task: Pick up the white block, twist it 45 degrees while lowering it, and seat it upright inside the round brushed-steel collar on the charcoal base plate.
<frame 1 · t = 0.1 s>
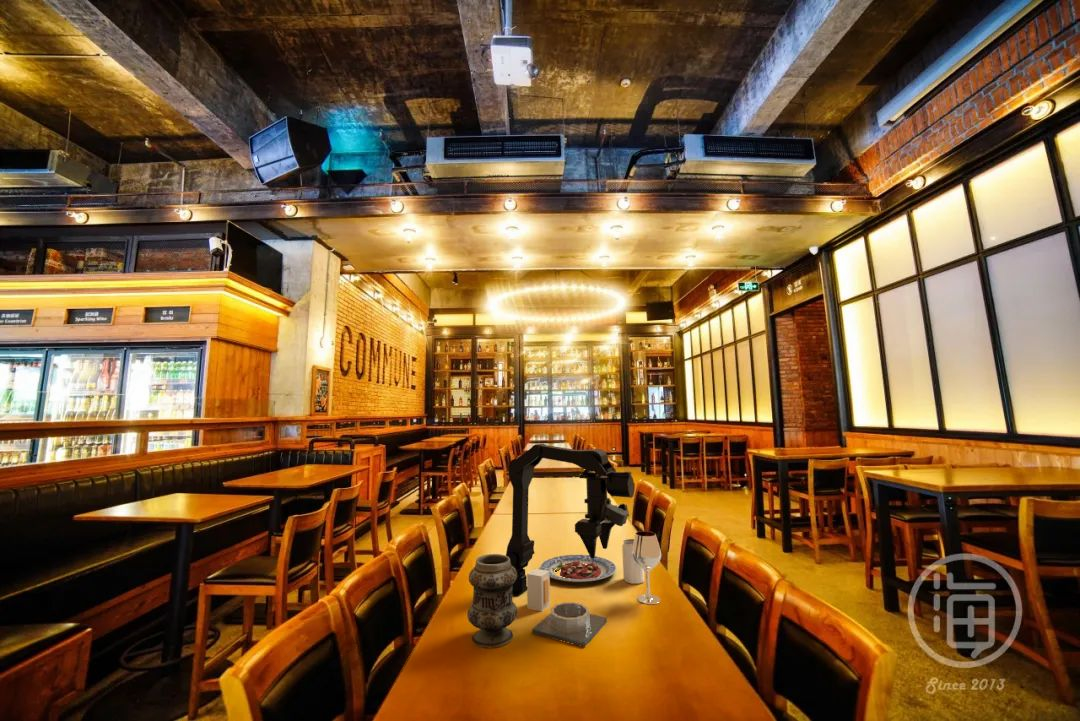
hand: (599, 553, 118), 15 cm above the table, tool pointing down, fingers open, 9 cm apart
white block: (538, 606, 119), on the table
can: (634, 581, 136), on the table
wineglass: (648, 600, 122), on the table
apothecary jar: (492, 638, 102), on the table
duct collar: (570, 627, 107), on the table
ceramic plate: (578, 573, 145), on the table
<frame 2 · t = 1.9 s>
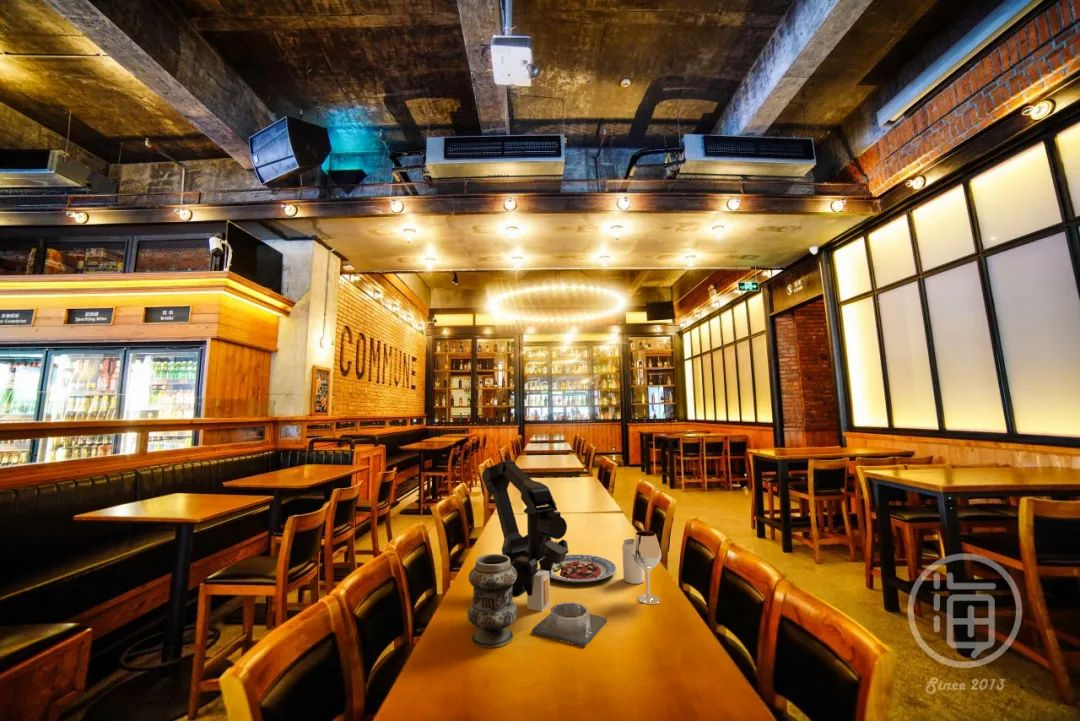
hand: (538, 589, 120), 4 cm above the table, tool pointing down, fingers open, 9 cm apart
nothing on the table moved.
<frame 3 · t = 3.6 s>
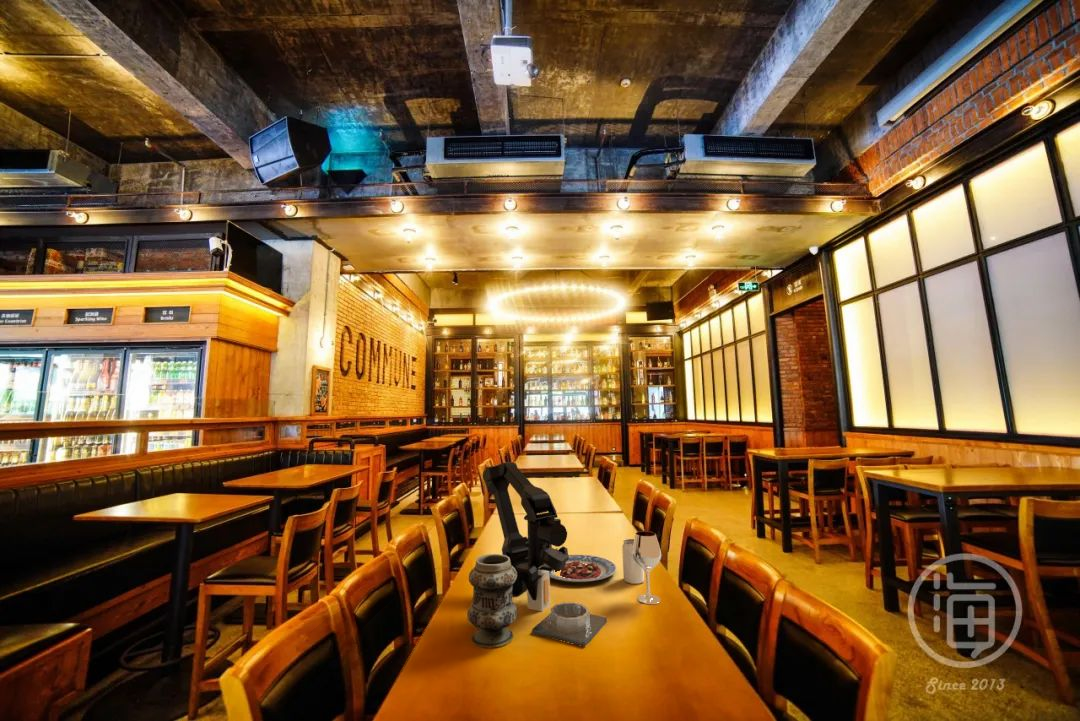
hand: (538, 596, 119), 3 cm above the table, tool pointing down, fingers closed on white block, 5 cm apart
white block: (538, 606, 119), on the table, touching gripper
everything else where it was.
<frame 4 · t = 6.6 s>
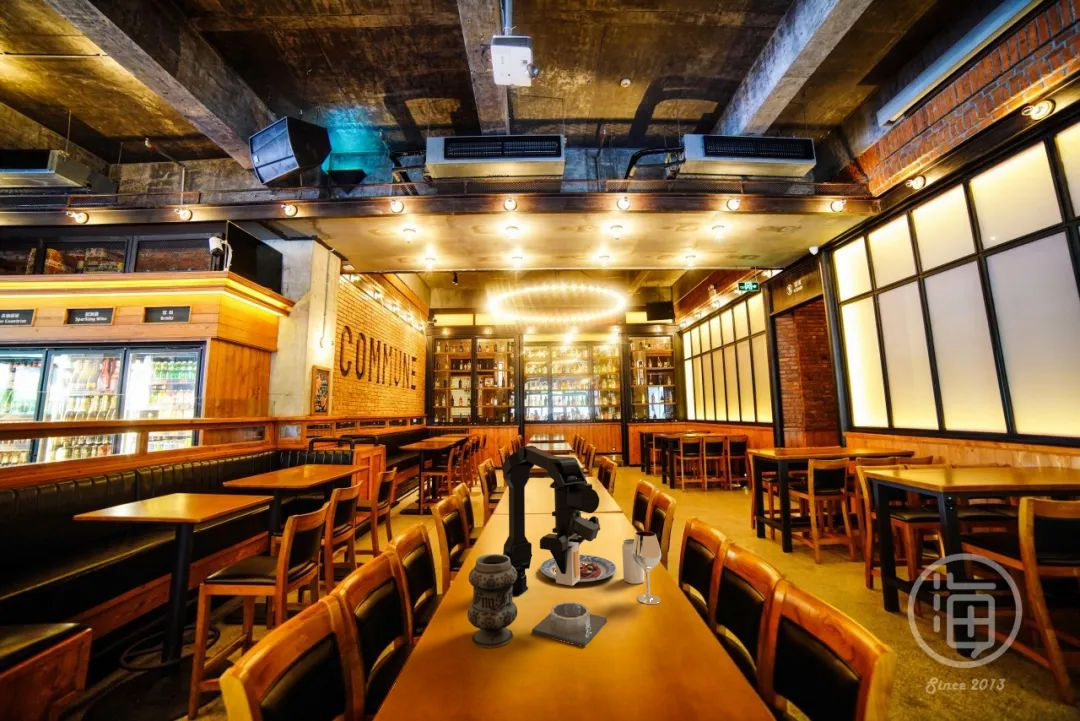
hand: (567, 570, 109), 13 cm above the table, tool pointing down, fingers closed on white block, 5 cm apart
white block: (568, 581, 109), point 11 cm above the table, touching gripper
everything else where it was.
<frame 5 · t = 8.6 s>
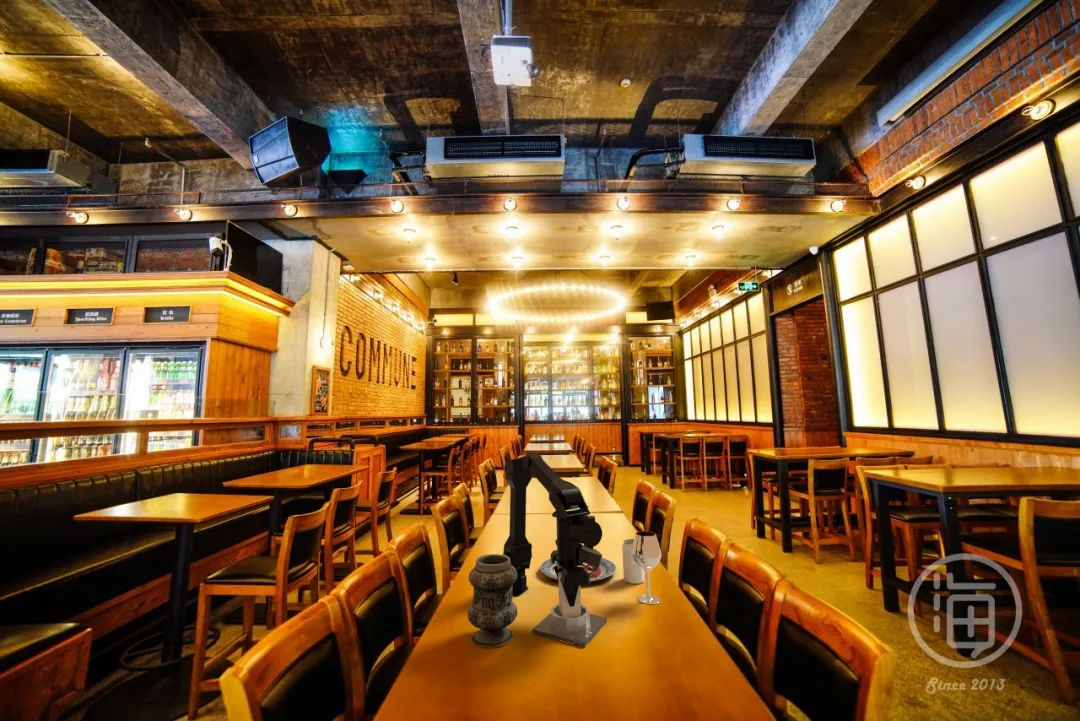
hand: (569, 602, 108), 6 cm above the table, tool pointing down, fingers closed on white block, 5 cm apart
white block: (569, 612, 107), point 3 cm above the table, touching gripper
everything else where it was.
when the fingers open (5 cm above the table, at t = 9.9 s): white block drops 1 cm, resting on duct collar.
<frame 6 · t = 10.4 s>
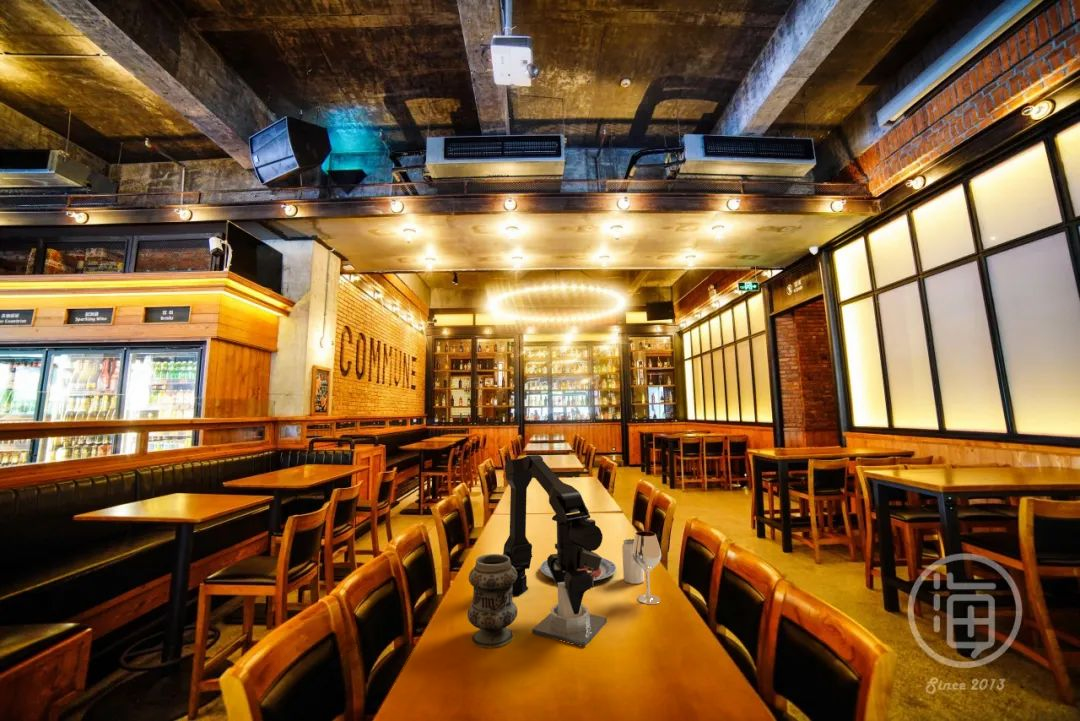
hand: (569, 606, 107), 5 cm above the table, tool pointing down, fingers open, 9 cm apart
white block: (570, 623, 107), point 1 cm above the table, touching duct collar
everything else where it was.
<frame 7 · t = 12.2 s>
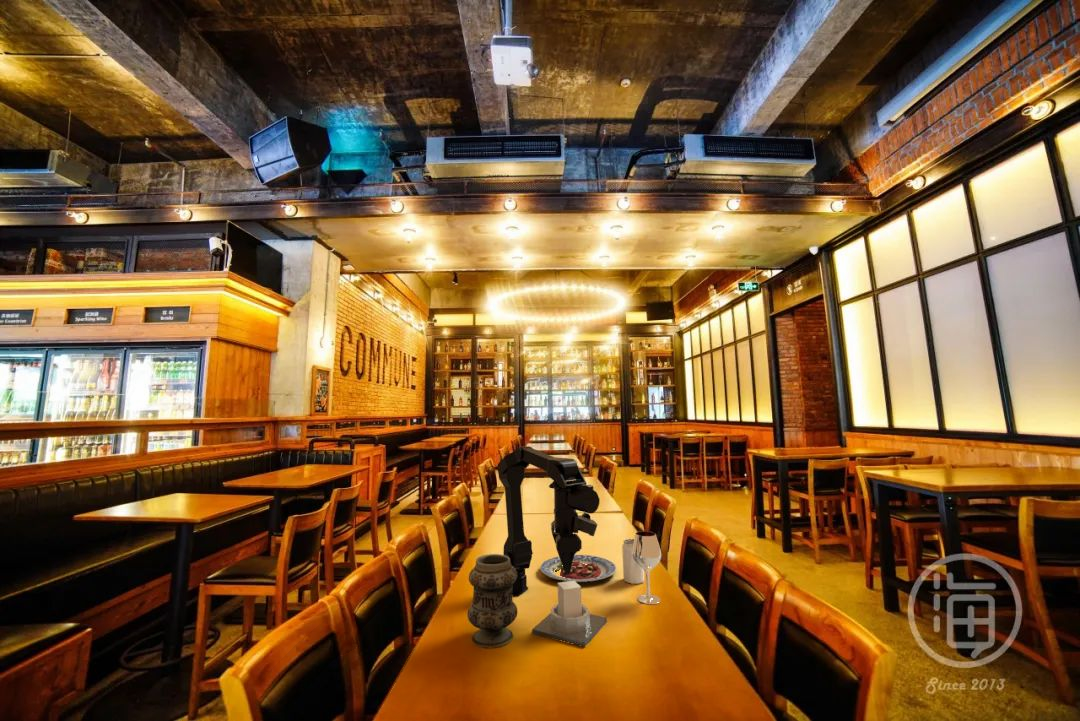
hand: (565, 567, 113), 13 cm above the table, tool pointing down, fingers open, 9 cm apart
nothing on the table moved.
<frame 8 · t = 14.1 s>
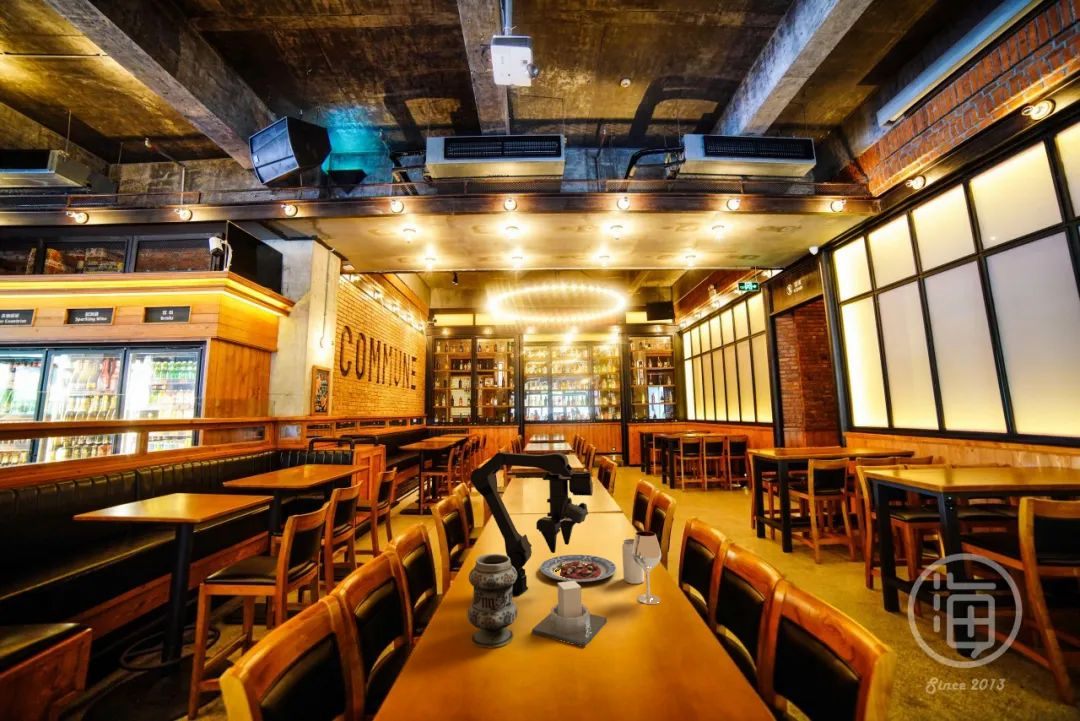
hand: (560, 548, 128), 13 cm above the table, tool pointing down, fingers open, 9 cm apart
nothing on the table moved.
at the end: white block 0.0 cm off-centre on the duct collar, point 1.0 cm above the duct collar's base; white block tilted 0°; the gripper is holding nothing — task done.
